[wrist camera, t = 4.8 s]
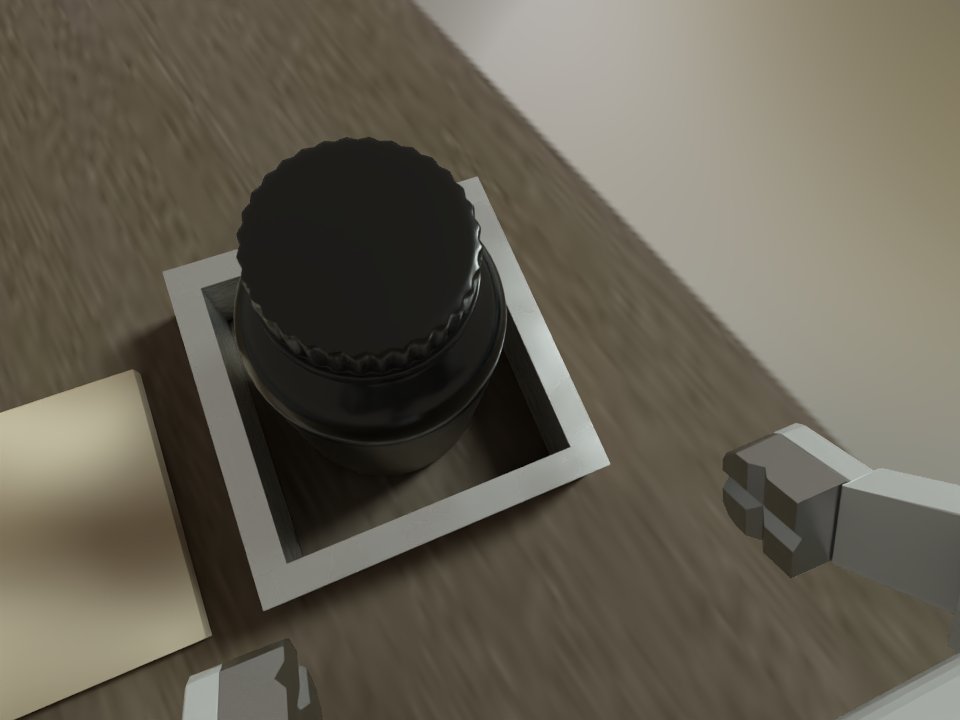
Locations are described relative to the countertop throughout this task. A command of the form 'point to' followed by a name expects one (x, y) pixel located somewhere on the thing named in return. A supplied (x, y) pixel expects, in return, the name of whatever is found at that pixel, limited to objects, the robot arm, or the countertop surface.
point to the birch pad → (88, 546)
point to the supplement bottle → (368, 303)
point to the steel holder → (288, 575)
